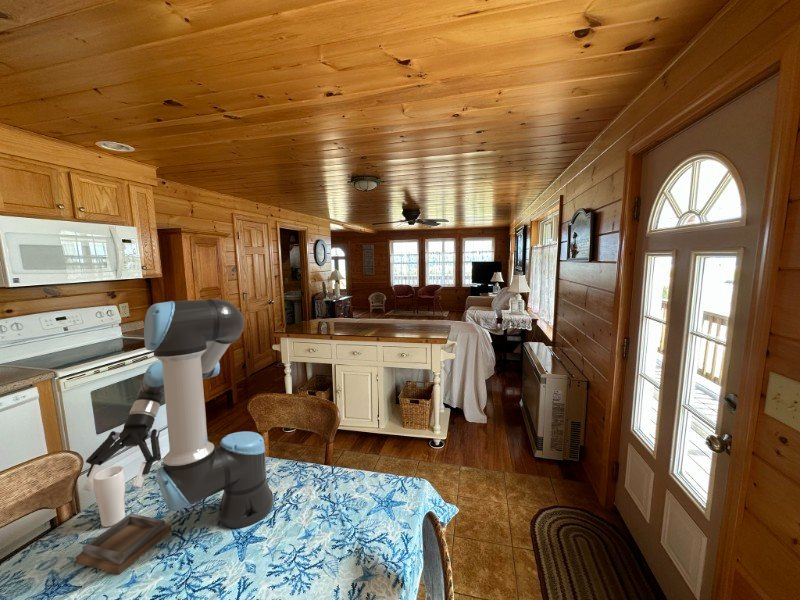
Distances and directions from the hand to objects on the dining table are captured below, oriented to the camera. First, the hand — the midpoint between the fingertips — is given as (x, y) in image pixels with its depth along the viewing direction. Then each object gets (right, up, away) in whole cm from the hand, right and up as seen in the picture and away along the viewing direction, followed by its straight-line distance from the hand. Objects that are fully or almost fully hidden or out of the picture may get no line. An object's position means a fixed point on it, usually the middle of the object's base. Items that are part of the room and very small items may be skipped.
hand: (112, 488), depth 98 cm
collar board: (+12, -10, -9) cm, 18 cm away
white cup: (+1, -9, -1) cm, 9 cm away
